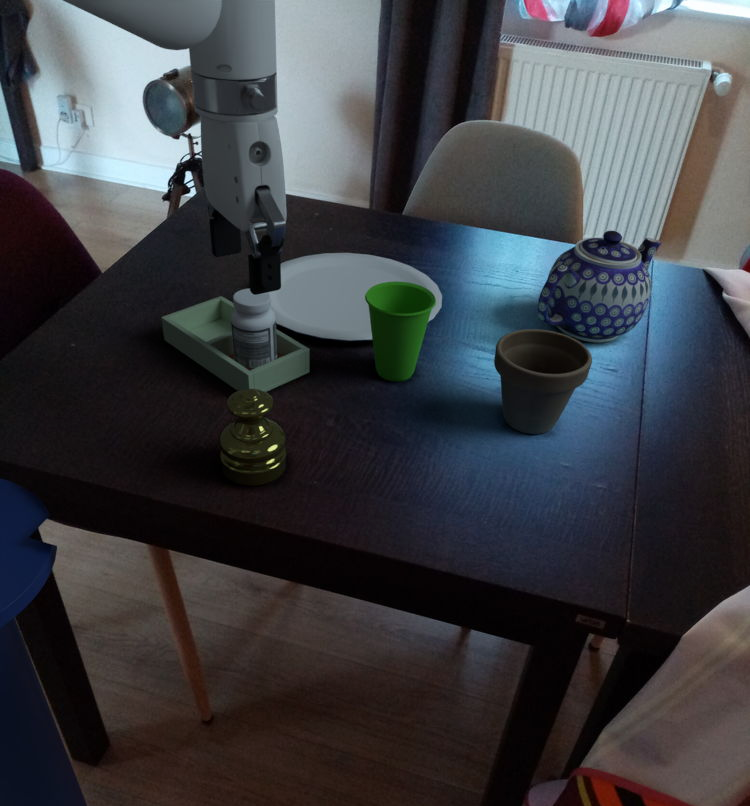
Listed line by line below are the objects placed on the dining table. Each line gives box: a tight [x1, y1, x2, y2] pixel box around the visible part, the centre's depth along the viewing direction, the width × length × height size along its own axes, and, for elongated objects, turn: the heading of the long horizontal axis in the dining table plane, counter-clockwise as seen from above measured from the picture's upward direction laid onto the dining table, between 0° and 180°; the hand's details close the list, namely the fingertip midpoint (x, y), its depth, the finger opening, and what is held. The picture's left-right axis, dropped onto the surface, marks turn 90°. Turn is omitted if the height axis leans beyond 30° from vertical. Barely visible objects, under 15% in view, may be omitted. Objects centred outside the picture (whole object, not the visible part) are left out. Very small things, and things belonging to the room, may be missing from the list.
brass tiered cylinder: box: [218, 389, 287, 487], centre depth 86 cm, size 7×8×10 cm
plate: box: [268, 252, 443, 343], centre depth 121 cm, size 29×29×2 cm
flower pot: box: [493, 328, 593, 435], centre depth 96 cm, size 12×11×10 cm
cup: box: [365, 282, 436, 382], centre depth 103 cm, size 9×9×11 cm
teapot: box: [536, 230, 662, 344], centre depth 114 cm, size 25×15×15 cm, turn 125°
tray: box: [160, 295, 311, 393], centre depth 106 cm, size 10×19×4 cm, turn 45°
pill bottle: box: [231, 287, 278, 371], centre depth 101 cm, size 6×6×10 cm
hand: (245, 272), depth 82 cm, fingers open, 9 cm apart
